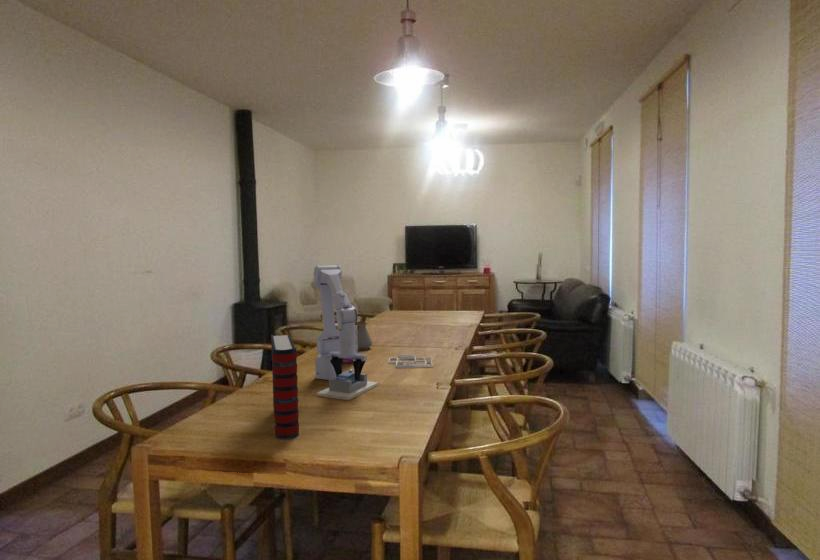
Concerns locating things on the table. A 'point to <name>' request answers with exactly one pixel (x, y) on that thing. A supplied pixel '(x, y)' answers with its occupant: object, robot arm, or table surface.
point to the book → (285, 387)
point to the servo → (347, 376)
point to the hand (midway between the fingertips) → (348, 378)
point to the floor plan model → (410, 362)
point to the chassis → (347, 388)
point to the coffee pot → (363, 336)
